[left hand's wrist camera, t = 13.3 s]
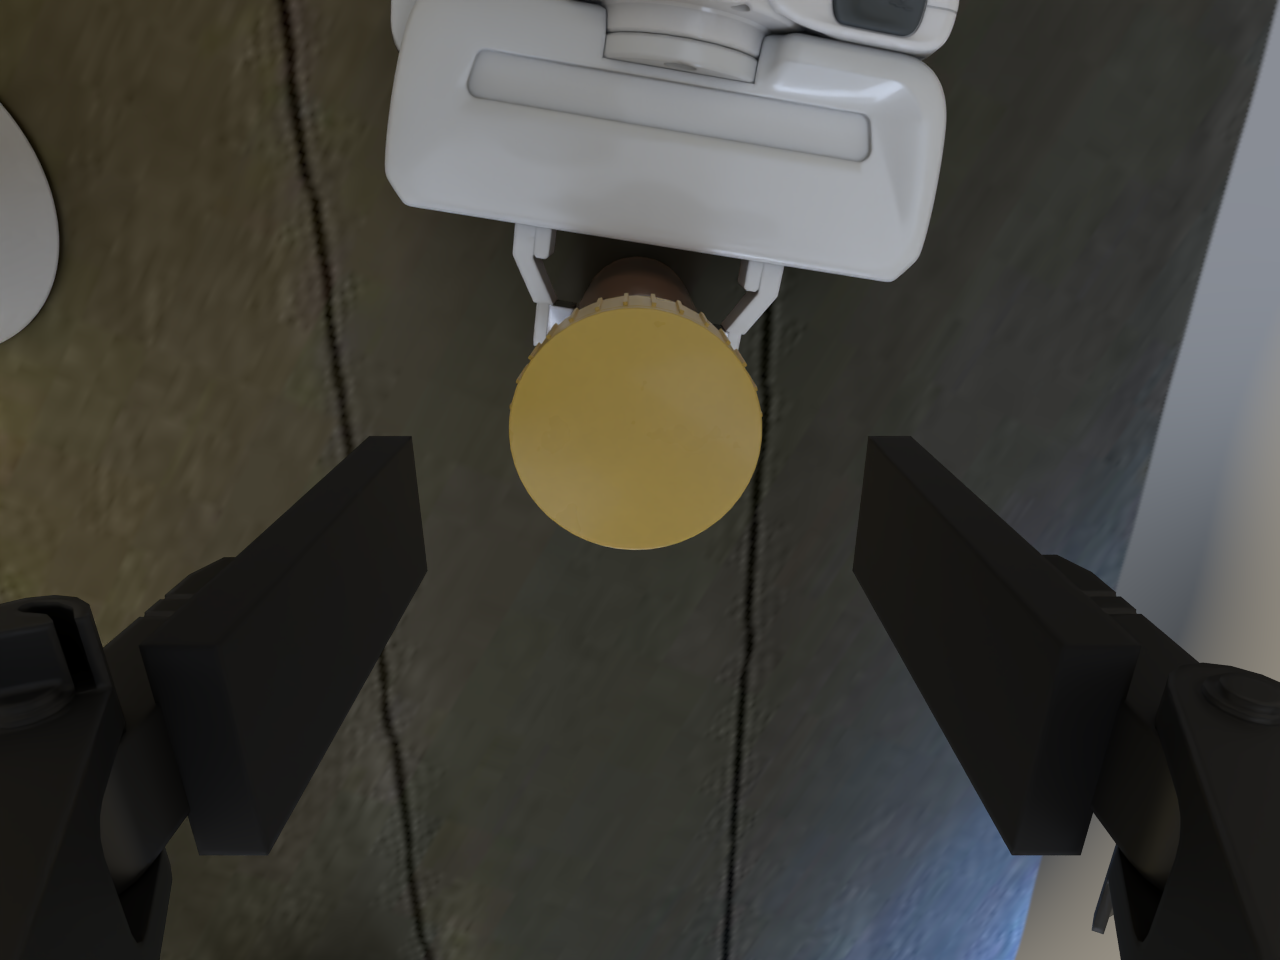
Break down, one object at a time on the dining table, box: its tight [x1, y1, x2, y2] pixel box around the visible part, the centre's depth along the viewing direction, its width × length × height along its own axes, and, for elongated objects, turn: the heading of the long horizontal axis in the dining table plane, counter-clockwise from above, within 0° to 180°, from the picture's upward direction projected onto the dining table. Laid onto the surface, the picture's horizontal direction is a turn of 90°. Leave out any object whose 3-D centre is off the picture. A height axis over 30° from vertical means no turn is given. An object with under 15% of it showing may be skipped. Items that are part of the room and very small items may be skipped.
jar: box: [577, 257, 699, 314], centre depth 28 cm, size 5×5×20 cm
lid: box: [509, 293, 762, 550], centre depth 19 cm, size 6×6×2 cm
